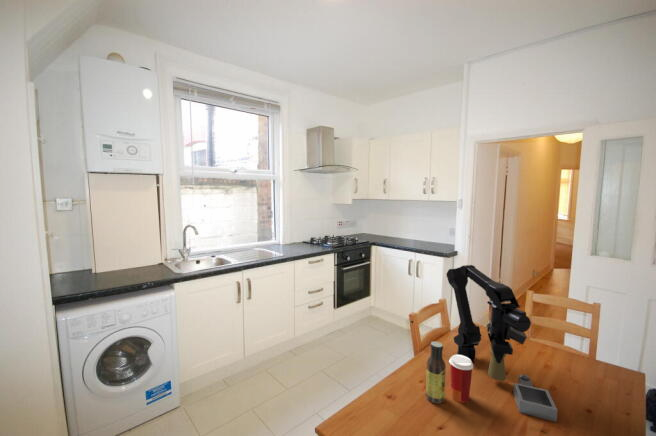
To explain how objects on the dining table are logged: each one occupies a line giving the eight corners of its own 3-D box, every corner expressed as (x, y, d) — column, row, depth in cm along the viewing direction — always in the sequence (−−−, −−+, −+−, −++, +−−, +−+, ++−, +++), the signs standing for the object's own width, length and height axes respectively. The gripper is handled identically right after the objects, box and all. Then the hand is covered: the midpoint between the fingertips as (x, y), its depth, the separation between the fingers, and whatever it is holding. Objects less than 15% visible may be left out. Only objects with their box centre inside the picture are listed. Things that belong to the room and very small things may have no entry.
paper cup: (470, 392, 104) (471, 355, 103) (473, 407, 97) (475, 368, 96) (447, 387, 107) (448, 352, 105) (448, 402, 99) (449, 363, 98)
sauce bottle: (445, 406, 97) (447, 350, 96) (425, 402, 99) (427, 347, 97) (443, 394, 103) (445, 341, 102) (425, 390, 105) (427, 338, 103)
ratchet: (519, 415, 95) (520, 401, 94) (508, 380, 112) (509, 368, 112) (556, 424, 91) (557, 410, 90) (539, 387, 108) (540, 375, 108)
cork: (501, 371, 112) (502, 344, 111) (509, 381, 106) (510, 352, 105) (484, 370, 112) (486, 343, 111) (492, 380, 106) (493, 351, 105)
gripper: (531, 334, 95) (528, 379, 97) (519, 313, 112) (517, 351, 114) (493, 328, 100) (491, 371, 101) (487, 308, 117) (485, 345, 118)
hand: (497, 359), depth 108 cm, fingers closed on cork, 5 cm apart
